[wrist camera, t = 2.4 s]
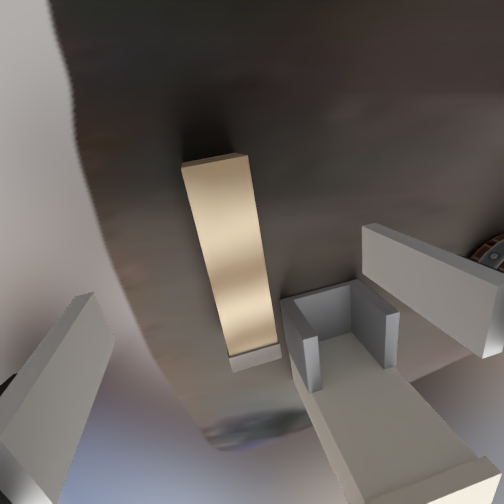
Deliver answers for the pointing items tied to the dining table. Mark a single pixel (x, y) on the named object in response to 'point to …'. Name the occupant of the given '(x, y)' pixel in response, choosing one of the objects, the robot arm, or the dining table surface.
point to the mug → (491, 253)
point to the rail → (233, 255)
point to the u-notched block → (374, 405)
